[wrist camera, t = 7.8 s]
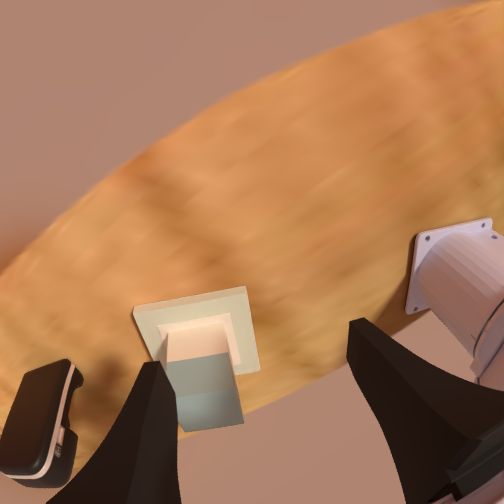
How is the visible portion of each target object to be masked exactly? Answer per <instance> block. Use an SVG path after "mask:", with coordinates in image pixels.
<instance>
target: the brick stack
mask: <svg viewBox="0 0 504 504" xmlns="http://www.w3.org/2000/svg"><path fill="white" fill-rule="evenodd" d="M166 375H167V377H168V379H169V381H170V383H171V385H172V387H173V389H174V391H175V393H176V403H177V414H178V422H179V423H180V425H181V427H182V428H183V430H184V432H191V431H199V430H207V429H213V428H220V427H226V426H232V425H238V424H243V423H244V420H243V414H242V409H241V404H240V398H239V392H238V387H237V381H236V376H235V370H234V364H233V359H232V355H231V351H230V347H229V343H228V339H227V335H226V331H225V327H224V323H218V324H212V325H207V326H201V327H196V328H190V329H184V330H178V331H172V332H168V347H167V369H166Z"/></svg>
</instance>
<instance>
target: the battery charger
mask: <svg viewBox="0 0 504 504" xmlns="http://www.w3.org/2000/svg"><path fill="white" fill-rule="evenodd" d="M82 384H83V377H82V375H81V373H80V372H79V371H78V369H77V368H76V367H75V365H74V364H73V363H72V362H70V361H69V360H68V359H63V360H60V361H57V362H54V363H51V364H49V365H46V366H43V367H40V368H38V369H35V370H32V371H30V372H27V373H25V374H24V376H23V379H22V381H21V384H20V387H19V389H18V392H17V395H16V397H15V400H14V402H13V405H12V407H11V410H10V412H9V415H8V418H7V420H6V423H5V426H4V429H3V432H2V435H1V439H0V471H1V472H2V473H3V474H4V475H5V476H7V477H9V478H12V479H13V480H15V481H16V482H18V483H20V484H21V485H23V486H26V487H32V488H33V487H34V488H59V487H62V486H63V485H65V484H66V483H67V482H68V481H69V479H70V476H71V473H72V469H73V464H74V459H75V454H76V449H77V441H78V436H77V435H76V434H75V433H74V432H73V431H72V430H71V429H69V427H70V423H69V418H68V413H69V408H70V403H71V398H72V395H73V392H74V390H75V389H76V388H78V387H81V386H82Z"/></svg>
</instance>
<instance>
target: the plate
mask: <svg viewBox="0 0 504 504" xmlns="http://www.w3.org/2000/svg"><path fill="white" fill-rule="evenodd" d="M133 316H134V318H135V320H136V323H137V325H138V327H139V330H140V332H141V334H142V337H143V339H144V341H145V343H146V345H147V348H148V350H149V352H150V354H151V356H152V358H153V361H160V362H161V364H162V366H163V368H164V371H165V373H166V369H167V347H168V332H172V331H178V330H184V329H190V328H196V327H201V326H207V325H212V324H218V323H224V327H225V331H226V335H227V339H228V343H229V347H230V351H231V355H232V359H233V364H234V370H235V375H241V374H246V373H251V372H256V371H260V365H259V360H258V354H257V348H256V343H255V337H254V331H253V325H252V319H251V313H250V308H249V302H248V296H247V291H246V287H245V286H240V287H235V288H230V289H225V290H220V291H214V292H209V293H204V294H198V295H193V296H188V297H182V298H177V299H171V300H166V301H160V302H154V303H149V304H143V305H137V306H134V310H133Z"/></svg>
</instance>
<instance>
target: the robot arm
mask: <svg viewBox="0 0 504 504" xmlns="http://www.w3.org/2000/svg"><path fill="white" fill-rule="evenodd" d="M492 223H493V221H492V219H491V218H484V219H479V220H475V221H470V222H466V223H461V224H457V225H452V226H448V227H443V228H438V229H434V230H429V231H425V232H421V233H419V234H418V235H417V236H416V240H415V248H414V256H413V264H412V271H411V278H410V284H409V290H408V296H407V302H406V307H405V312H406V313H407V314H408V315H410V314H413V313H416V312H419V311H422V310H425V309H428V308H430V309H431V310H432V311H433V312H434V313H435V315H436V316H437V317H438V318H439V319H440V320H441V321H442V322H443V323H444V325H445V326H446V327H447V328H448V329H449V330H450V331H451V333H452V334H453V335H454V336H455V337H456V338H457V339H458V341H459V342H460V343H461V344H462V345H463V346H464V348H465V349H466V350H467V351H468V352H469V353H470V355H471V356H472V357H473V358H474V360H473V362H472V364H471V366H470V369H471V370H472V371H473V372H474V373H475V375H476V378H475V380H474V383H472V382H469V381H467V380H464V379H462V378H459V377H457V376H455V375H452V374H450V373H448V372H445V371H444V370H442V369H440V368H438V367H436V366H434V365H432V364H430V363H428V362H427V361H425V360H423V359H422V358H420V357H419V356H417V355H415V354H414V353H412V352H411V351H409V350H408V349H406V348H405V347H404V346H402V345H401V344H399V343H398V342H396V341H395V340H394V339H392V338H391V337H390V336H388V335H387V334H386V333H384V332H383V331H381V330H380V329H379V328H378V327H376V326H375V325H374V324H372V323H371V322H370V321H368V320H367V319H365V318H364V317H363V318H360V319H356V320H352V321H350V322H349V335H348V346H347V356H346V358H347V360H348V363H349V366H350V368H351V371H352V373H353V376H354V378H355V380H356V382H357V384H358V386H359V387H360V389H361V391H362V393H363V395H364V397H365V398H366V400H367V402H368V404H369V405H370V407H371V409H372V411H373V413H374V414H375V416H376V418H377V420H378V422H379V424H380V426H381V428H382V431H383V433H384V436H385V438H386V440H387V443H388V445H389V448H390V451H391V454H392V457H393V460H394V463H395V465H396V469H397V472H398V475H399V478H400V482H401V485H402V489H403V493H404V497H405V501H406V504H504V237H503V236H501V235H500V234H498V233H497V232H495V231H494V230H492ZM426 237H427V238H426ZM425 238H426V239H425ZM177 437H178V414H177V403H176V393H175V391H174V389H173V387H172V385H171V383H170V381H169V379H168V377H167V375H166V373H165V371H164V368H163V366H162V364H161V362H160V361H152V362H145V363H144V364H143V366H142V368H141V370H140V372H139V375H138V377H137V379H136V381H135V383H134V386H133V388H132V390H131V392H130V394H129V396H128V398H127V400H126V402H125V404H124V406H123V408H122V410H121V412H120V414H119V415H118V417H117V419H116V421H115V422H114V424H113V426H112V428H111V429H110V431H109V433H108V434H107V436H106V437H105V439H104V440H103V442H102V443H101V445H100V446H99V448H98V449H97V450H96V452H95V453H94V454H93V456H92V457H91V458H90V460H89V461H88V462H87V463H86V465H85V466H84V467H83V468H82V469H81V470H80V471H79V472H78V474H77V475H76V476H75V477H74V478H73V479H72V480H71V481H70V482H69V483H68V484H67V485H66V486H65V487H64V488H63V489H62V490H60V491H59V492H58V493H57V494H56V495H55V496H54V497H53V498H51V499H50V500H49V501H47V502H46V504H181V497H180V490H179V482H178V475H177V474H178V473H177Z"/></svg>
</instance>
